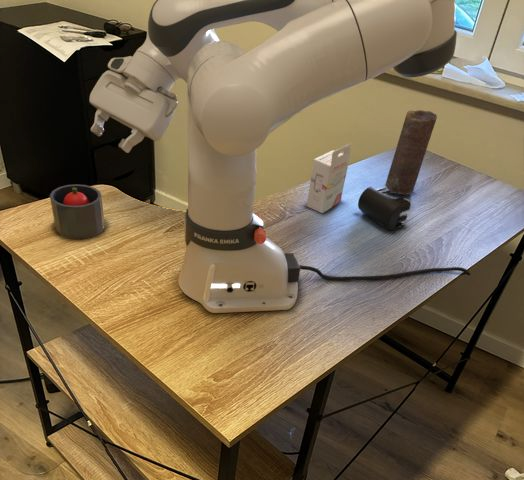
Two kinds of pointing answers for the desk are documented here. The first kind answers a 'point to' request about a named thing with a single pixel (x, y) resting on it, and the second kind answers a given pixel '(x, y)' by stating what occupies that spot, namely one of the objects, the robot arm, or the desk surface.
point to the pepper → (75, 198)
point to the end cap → (383, 207)
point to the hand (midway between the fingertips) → (108, 141)
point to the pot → (78, 213)
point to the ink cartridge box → (328, 179)
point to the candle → (410, 151)
